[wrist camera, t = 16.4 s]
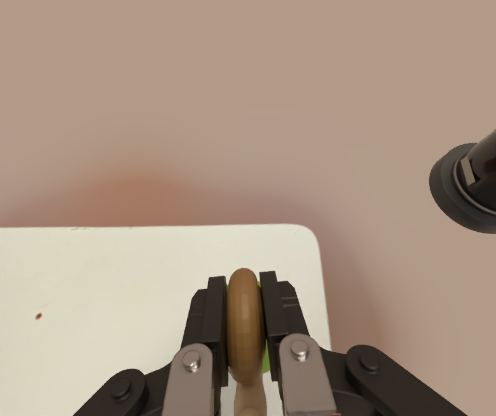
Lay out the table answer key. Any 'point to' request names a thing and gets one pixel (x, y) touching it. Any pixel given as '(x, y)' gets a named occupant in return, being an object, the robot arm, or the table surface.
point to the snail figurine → (247, 343)
